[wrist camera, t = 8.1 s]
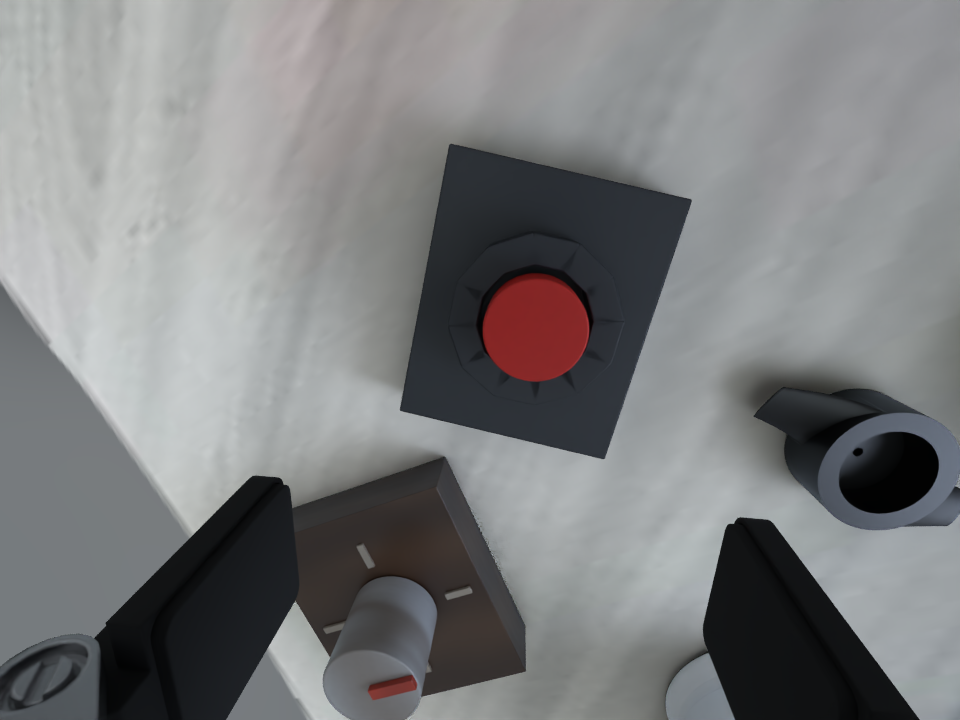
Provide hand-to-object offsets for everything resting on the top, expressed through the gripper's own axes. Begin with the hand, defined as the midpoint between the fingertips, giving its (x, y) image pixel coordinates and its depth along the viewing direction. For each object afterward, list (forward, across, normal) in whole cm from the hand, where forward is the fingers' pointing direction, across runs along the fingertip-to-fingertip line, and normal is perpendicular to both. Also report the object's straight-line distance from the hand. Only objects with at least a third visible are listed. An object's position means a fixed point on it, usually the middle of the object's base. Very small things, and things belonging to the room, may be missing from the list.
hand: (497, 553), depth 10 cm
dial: (+11, +5, +14) cm, 18 cm away
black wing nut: (+15, -17, +4) cm, 23 cm away
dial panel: (+14, +5, +14) cm, 20 cm away
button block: (+15, -1, -2) cm, 15 cm away
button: (+11, -1, -2) cm, 11 cm away
